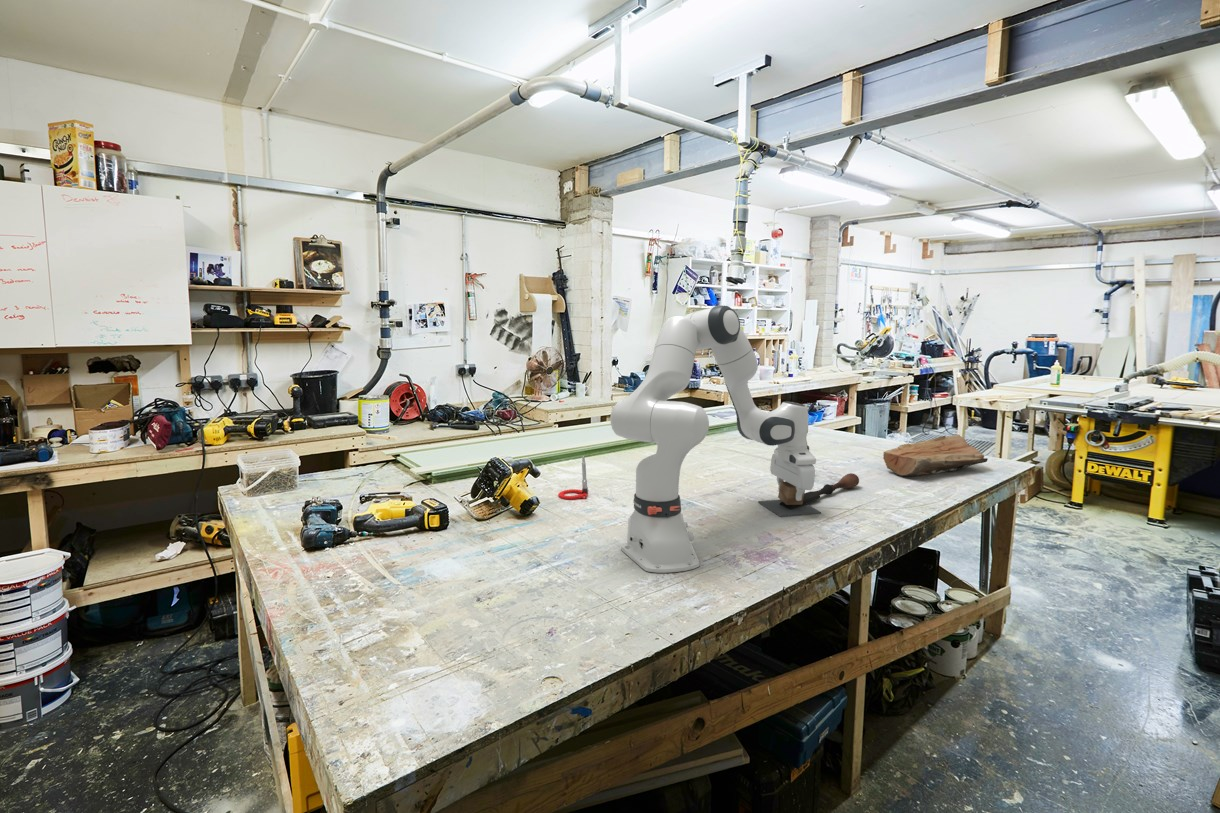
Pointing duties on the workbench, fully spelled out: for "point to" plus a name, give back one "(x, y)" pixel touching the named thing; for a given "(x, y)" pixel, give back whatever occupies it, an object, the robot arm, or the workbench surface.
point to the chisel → (827, 490)
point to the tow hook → (582, 493)
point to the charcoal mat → (784, 512)
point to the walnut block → (788, 494)
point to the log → (932, 456)
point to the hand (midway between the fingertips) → (789, 495)
